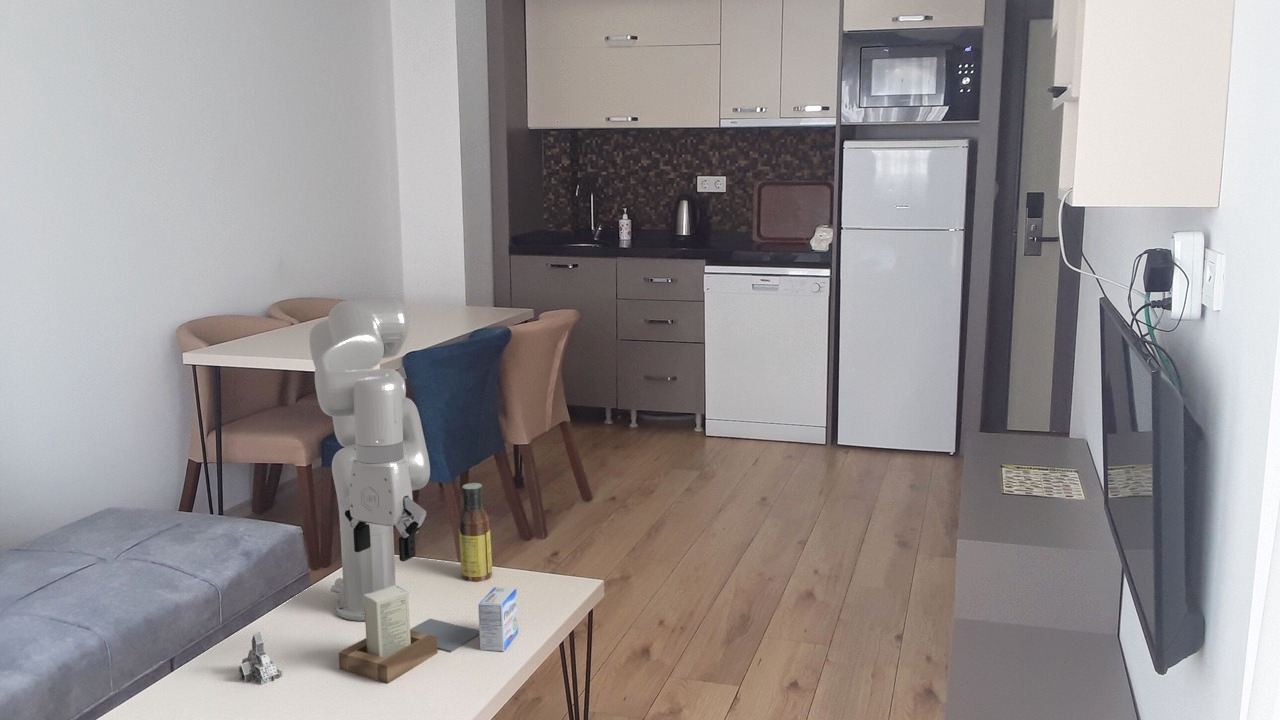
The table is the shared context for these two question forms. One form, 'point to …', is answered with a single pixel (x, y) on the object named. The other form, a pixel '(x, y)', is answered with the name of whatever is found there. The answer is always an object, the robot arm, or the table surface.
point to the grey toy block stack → (258, 663)
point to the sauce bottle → (474, 536)
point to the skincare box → (387, 621)
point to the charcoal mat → (446, 634)
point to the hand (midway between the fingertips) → (384, 554)
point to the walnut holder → (394, 665)
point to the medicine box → (498, 619)
